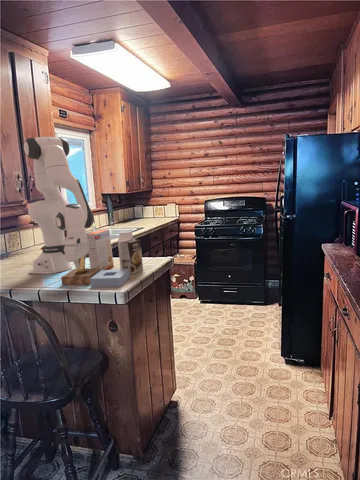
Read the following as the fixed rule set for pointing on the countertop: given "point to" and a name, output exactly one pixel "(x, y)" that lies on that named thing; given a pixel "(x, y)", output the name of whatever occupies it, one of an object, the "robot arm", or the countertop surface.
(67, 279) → the block
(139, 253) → the coffee box
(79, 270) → the brass peg
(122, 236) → the milk carton
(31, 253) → the countertop surface
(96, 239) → the cracker box
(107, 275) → the socket block
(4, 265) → the countertop surface
